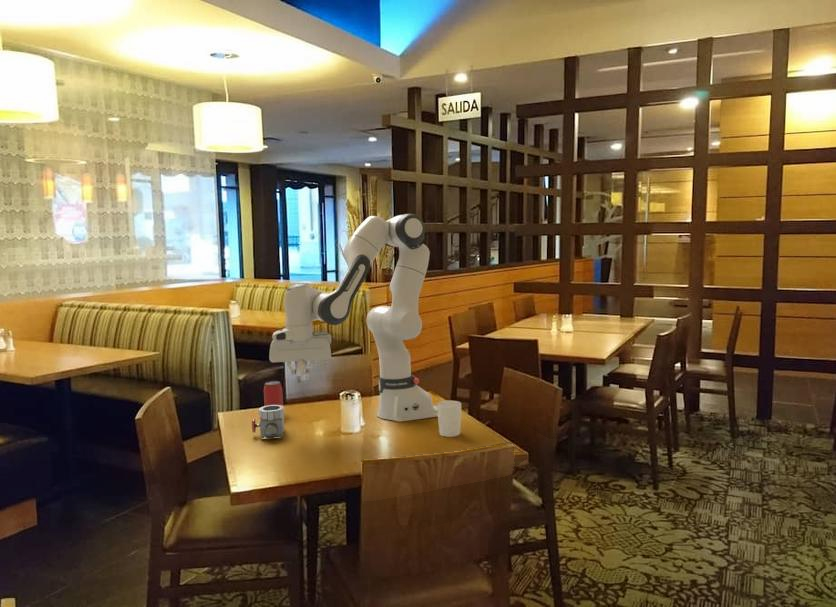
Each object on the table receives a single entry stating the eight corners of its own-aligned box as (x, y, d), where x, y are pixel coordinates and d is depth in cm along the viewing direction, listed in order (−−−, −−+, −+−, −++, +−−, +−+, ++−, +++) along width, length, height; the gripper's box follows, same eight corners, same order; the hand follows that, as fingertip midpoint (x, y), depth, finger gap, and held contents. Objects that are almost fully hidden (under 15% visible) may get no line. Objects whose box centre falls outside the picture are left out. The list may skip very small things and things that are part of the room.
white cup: (460, 438, 201) (459, 407, 200) (435, 437, 203) (434, 406, 202) (463, 430, 209) (462, 400, 208) (439, 429, 210) (439, 400, 209)
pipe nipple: (308, 379, 214) (307, 356, 213) (307, 382, 210) (306, 358, 209) (296, 380, 214) (294, 357, 213) (295, 383, 210) (294, 359, 209)
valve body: (285, 427, 218) (284, 401, 217) (283, 440, 204) (282, 413, 203) (255, 429, 217) (253, 404, 216) (251, 443, 203) (249, 415, 202)
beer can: (281, 417, 231) (279, 384, 229) (263, 417, 231) (261, 385, 229) (285, 411, 237) (283, 380, 236) (267, 412, 237) (265, 380, 236)
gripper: (330, 329, 215) (332, 370, 216) (269, 332, 212) (271, 373, 213) (331, 332, 209) (333, 374, 210) (267, 335, 205) (269, 377, 207)
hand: (301, 373), depth 212 cm, fingers closed on pipe nipple, 4 cm apart
